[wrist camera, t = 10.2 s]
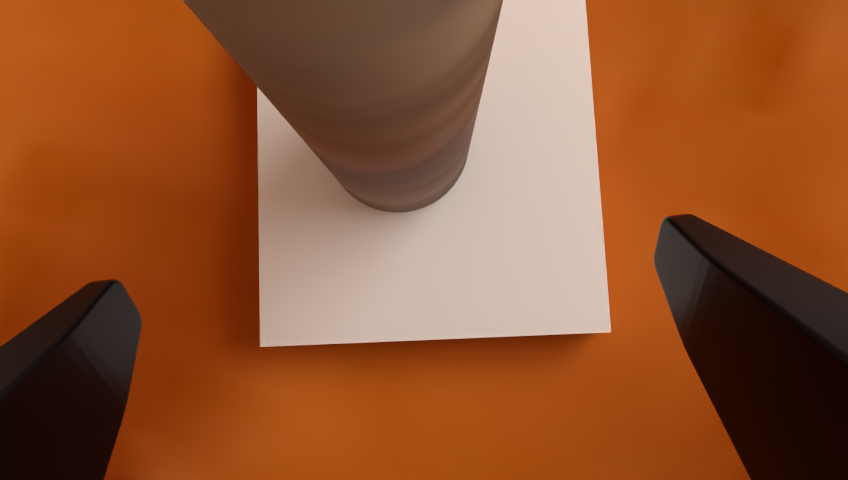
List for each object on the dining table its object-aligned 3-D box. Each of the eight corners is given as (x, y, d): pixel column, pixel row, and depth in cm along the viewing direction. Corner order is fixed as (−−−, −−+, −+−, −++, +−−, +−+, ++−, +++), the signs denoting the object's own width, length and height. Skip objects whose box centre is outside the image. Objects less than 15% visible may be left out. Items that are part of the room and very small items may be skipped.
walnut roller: (446, 229, 19) (468, 93, 6) (310, 189, 19) (57, -21, 6) (485, 96, 20) (583, -294, 7) (351, 59, 20) (194, -387, 7)
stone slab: (597, 329, 20) (611, 332, 19) (272, 343, 20) (260, 347, 19) (567, -77, 22) (577, -105, 20) (267, -62, 22) (255, -88, 20)
